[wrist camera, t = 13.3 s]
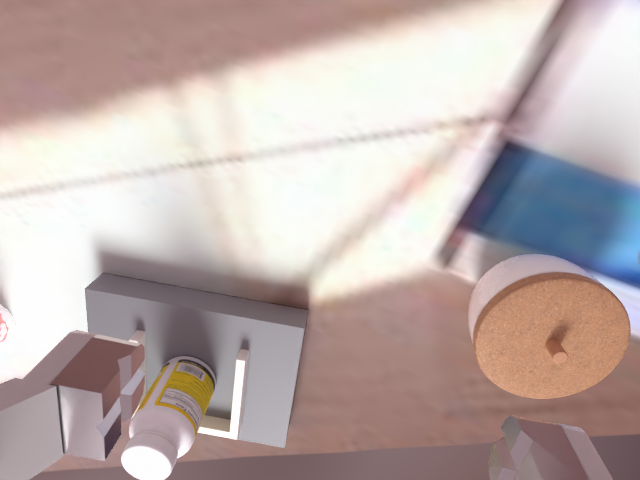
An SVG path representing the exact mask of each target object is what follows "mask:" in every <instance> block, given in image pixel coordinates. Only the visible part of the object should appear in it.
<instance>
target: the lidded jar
mask: <svg viewBox="0 0 640 480" xmlns="http://www.w3.org/2000/svg"><path fill="white" fill-rule="evenodd" d="M468 323H469V330H470V335H471V339H472V342H473V347H474V351H475V356H476V359H477V361H478V363H479V365H480V368H481V369H482V371H483V372H484V374H485V375H486V376H487V377H488V378H489V379H490V380H491V381H492V382H493V383H494V384H496V385H497V386H499V387H500V388H502V389H504V390H506V391H508V392H510V393H513V394H516V395H519V396H523V397H529V398H538V399H547V398H558V397H564V396H568V395H571V394H575V393H578V392H580V391H583V390H585V389H588V388H589V387H591V386H593V385H595V384H596V383H598V382H599V381H601V380H602V379H604V378H605V377H606V376H607V375H608V374H609V373H610V372H611V371H612V370H613V369H614V368H615V367H616V366H617V365H618V363H619V362H620V361H621V359H622V357H623V355H624V353H625V352H626V349H627V346H628V343H629V338H630V321H629V317H628V314H627V311H626V310H625V308H624V306H623V304H622V303H621V302H620V300H619V299H618V298H617V297H616V296H615V295H614V294H613V293H612V292H611V291H610V290H609V289H607V288H606V287H605V286H604V285H602V284H601V283H600V282H599V281H598V280H596V279H595V278H594V277H593V276H592V275H590V274H589V273H588V272H586V271H585V270H584V269H582V268H581V267H579V266H577V265H575V264H573V263H571V262H569V261H567V260H565V259H562V258H559V257H556V256H551V255H545V254H523V255H519V256H514V257H511V258H509V259H506V260H504V261H502V262H500V263H498V264H496V265H495V266H494V267H492V268H491V269H489V270H488V271H487V272H486V273H485V274H484V275H483V276H482V277H481V279H480V280H479V281H478V283H477V285H476V286H475V288H474V290H473V293H472V296H471V299H470V302H469V308H468Z"/></svg>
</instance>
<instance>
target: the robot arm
mask: <svg viewBox="0 0 640 480" xmlns="http://www.w3.org/2000/svg"><path fill="white" fill-rule="evenodd" d="M144 359H145V347H144V346H143V345H142V344H140V343H135V342H131V341H126V340H121V339H117V338H112V337H108V336H103V335H96V334H92V333H87V332H83V331H78V330H76V331H73V332H70V333H69V334H68V335H67V336H66V337H65V338H64V339H63V340H62V341H61V342H60V343H59V344H58V345H57V346H56V347H55V348H54V349H53V350H52V351H51V352H50V353H49V354H47V355H46V356H45V357H44V358H43V359H42V360H41V361H40V362H39V363H38V364H37V365H36V366H35V367H34V368H33V369H32V370H31V371H30V372H29V373H28V374H27V375H26V376H25V377H24V378H23V379H18V378H14V379H12V380H9V381H7V382H4V383H2V384H0V480H29V479H31V478H32V477H34V476H35V475H37V474H38V473H40V472H41V471H43V470H44V469H46V468H47V467H48V466H50V465H51V464H53V463H54V462H56V461H57V460H59V459H60V458H62V457H63V454H67V455H73V456H79V457H85V458H91V459H97V460H103V461H105V460H106V458H107V457H108V455H109V454H110V452H111V450H112V449H113V447H114V446H115V444H116V442H117V441H118V439H119V437H120V436H121V423H123V422H125V421H126V420H128V419H130V418H132V416H133V414H134V413H135V411H136V409H137V408H138V405H139V403H140V400H141V397H142V395H143V390H144V384H145V374H144V373H143V371H142V370H141V369H140V365H141V364H142V362H143V361H144ZM501 428H502V431H503V434H504V437H503V438H501V439H499V440H498V441H496V442H494V445H493V447H492V450H491V452H490V458H489V475H490V480H613V479H612V477H611V476H610V474H609V472H608V470H607V468H606V467H605V465H604V463H603V462H602V460H601V458H600V456H599V455H598V453H597V451H596V449H595V448H594V446H593V444H592V443H591V441H590V439H589V437H588V436H587V434H586V432H585V431H583V430H582V429H581V428H580V427H574V426H569V425H563V424H557V423H556V424H554V423H550V422H544V421H539V420H534V419H528V418H523V417H517V416H512V415H510V416H509V417H508V418H506V419H505V421H504V423H503V425H502V427H501Z"/></svg>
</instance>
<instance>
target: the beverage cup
mask: <svg viewBox="0 0 640 480" xmlns="http://www.w3.org/2000/svg"><path fill="white" fill-rule="evenodd" d="M15 325H16V324H15V321H14V318H13V316H12V315H11V314H10V312H9V311H8V310H7V309H6V308H4V307H3V306H2V305H0V345H1V344H2V343H3V342H5V341H6V340H7V339H8V338H9V337H10V336H11V335H12V333H13V332H14V331H15Z"/></svg>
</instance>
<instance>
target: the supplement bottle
mask: <svg viewBox="0 0 640 480" xmlns="http://www.w3.org/2000/svg"><path fill="white" fill-rule="evenodd" d="M215 386H216V379H215V375H214V373H213V371H212V370H211V368H210V367H209V366H208V365H207V364H206V363H204V362H203V361H201V360H199V359H197V358H194V357H190V356H179V357H175V358H173V359H171V360H169V361H168V362H167V363H166V364H165V365H164V366H163V368H162V369H161V371H160V372H159V374H158V376H157V377H156V379H155V381H154V382H153V384H152V386H151V387H150V389H149V391H148V392H147V394H146V396H145V397H144V399H143V401H142V402H141V404H140V406H139V407H138V409H137V411H136V412H135V414H134V416H133V418H132V420H131V422H130V425H129V436H130V441H129V442H128V444H127V446H126V448H125V449H124V451H123V453H122V456H121V462H122V465H123V467H124V468H125V470H126V471H127V472H128V473H129V474H131V475H132V476H134V477H135V478H137V479H140V480H163V479H165V478H167V477H168V476H169V475H170V473H171V471H172V469H173V467H174V465H175V463H176V460H177V458H179V457H181V456H182V455H184V454H185V453H186V452H187V451H188V450H189V449H190V447H191V446H192V444H193V442H194V439H195V437H196V435H197V432H198V430H199V427H200V425H201V422H202V420H203V417H204V415H205V412H206V410H207V408H208V405H209V403H210V400H211V398H212V395H213V393H214V390H215Z"/></svg>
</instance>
